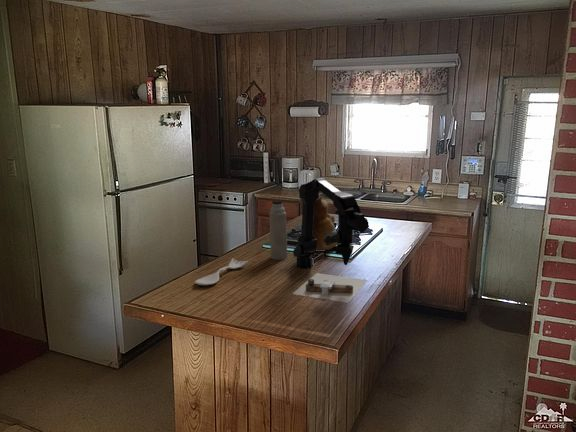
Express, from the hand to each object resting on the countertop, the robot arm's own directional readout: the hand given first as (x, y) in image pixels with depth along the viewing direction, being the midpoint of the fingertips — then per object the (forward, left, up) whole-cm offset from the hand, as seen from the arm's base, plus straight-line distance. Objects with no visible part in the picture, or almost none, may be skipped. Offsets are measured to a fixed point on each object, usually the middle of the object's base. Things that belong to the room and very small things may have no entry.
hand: (345, 264), depth 194 cm
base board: (-5, -2, -10) cm, 12 cm away
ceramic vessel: (-29, +44, -10) cm, 54 cm away
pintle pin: (-11, -9, -7) cm, 16 cm away
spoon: (-55, -6, -11) cm, 57 cm away
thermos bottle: (-43, +26, -10) cm, 52 cm away
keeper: (-5, -8, -9) cm, 13 cm away
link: (-4, -7, -9) cm, 12 cm away
